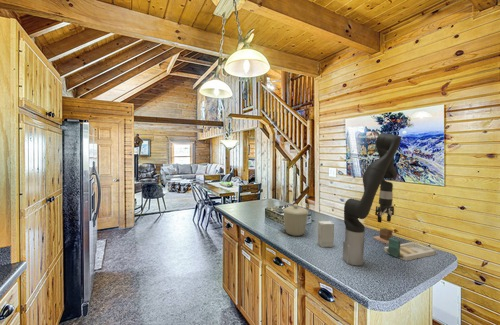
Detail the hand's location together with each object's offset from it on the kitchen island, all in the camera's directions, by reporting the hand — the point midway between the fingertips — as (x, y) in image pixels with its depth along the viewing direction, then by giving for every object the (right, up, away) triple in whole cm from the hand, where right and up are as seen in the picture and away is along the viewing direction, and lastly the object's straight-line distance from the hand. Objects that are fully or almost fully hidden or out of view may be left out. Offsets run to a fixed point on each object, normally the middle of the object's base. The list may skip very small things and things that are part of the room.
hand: (384, 221), depth 147 cm
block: (+2, -12, +1) cm, 12 cm away
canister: (-57, -11, +11) cm, 59 cm away
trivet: (+2, -13, +1) cm, 13 cm away
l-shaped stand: (-1, -13, -19) cm, 23 cm away
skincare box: (-42, -13, -9) cm, 45 cm away
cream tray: (+5, -14, -17) cm, 22 cm away
